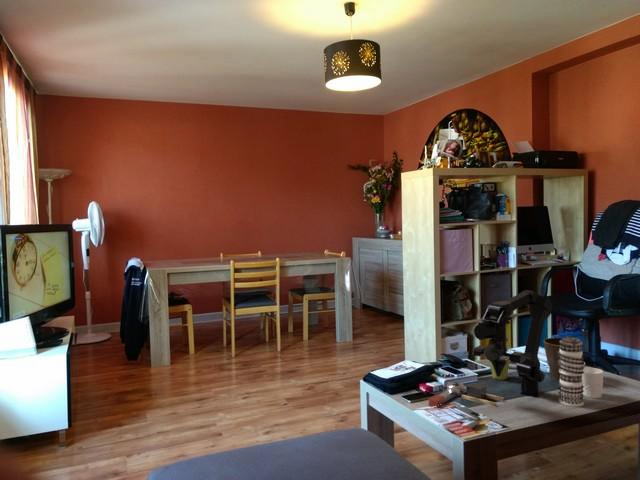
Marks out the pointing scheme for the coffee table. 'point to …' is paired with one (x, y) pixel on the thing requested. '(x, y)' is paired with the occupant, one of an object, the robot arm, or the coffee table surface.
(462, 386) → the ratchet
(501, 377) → the plant pot
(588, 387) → the white cup
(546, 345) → the plant pot
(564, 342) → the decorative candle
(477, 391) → the socket
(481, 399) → the guide rails
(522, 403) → the coffee table surface
